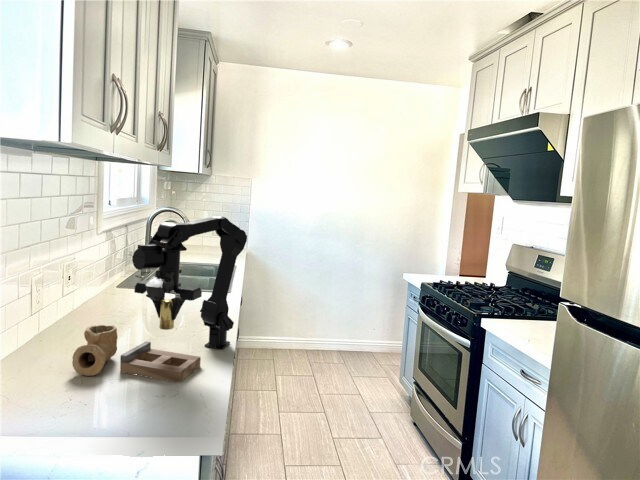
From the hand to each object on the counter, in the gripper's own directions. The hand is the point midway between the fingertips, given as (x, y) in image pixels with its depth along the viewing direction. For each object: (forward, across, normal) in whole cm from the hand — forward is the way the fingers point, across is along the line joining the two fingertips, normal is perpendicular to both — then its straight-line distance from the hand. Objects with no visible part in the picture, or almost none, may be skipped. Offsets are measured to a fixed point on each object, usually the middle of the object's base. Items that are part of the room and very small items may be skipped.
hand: (166, 318), depth 138 cm
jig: (+13, +2, -5) cm, 14 cm away
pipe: (+14, -16, -9) cm, 23 cm away
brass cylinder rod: (+3, 0, 0) cm, 3 cm away
